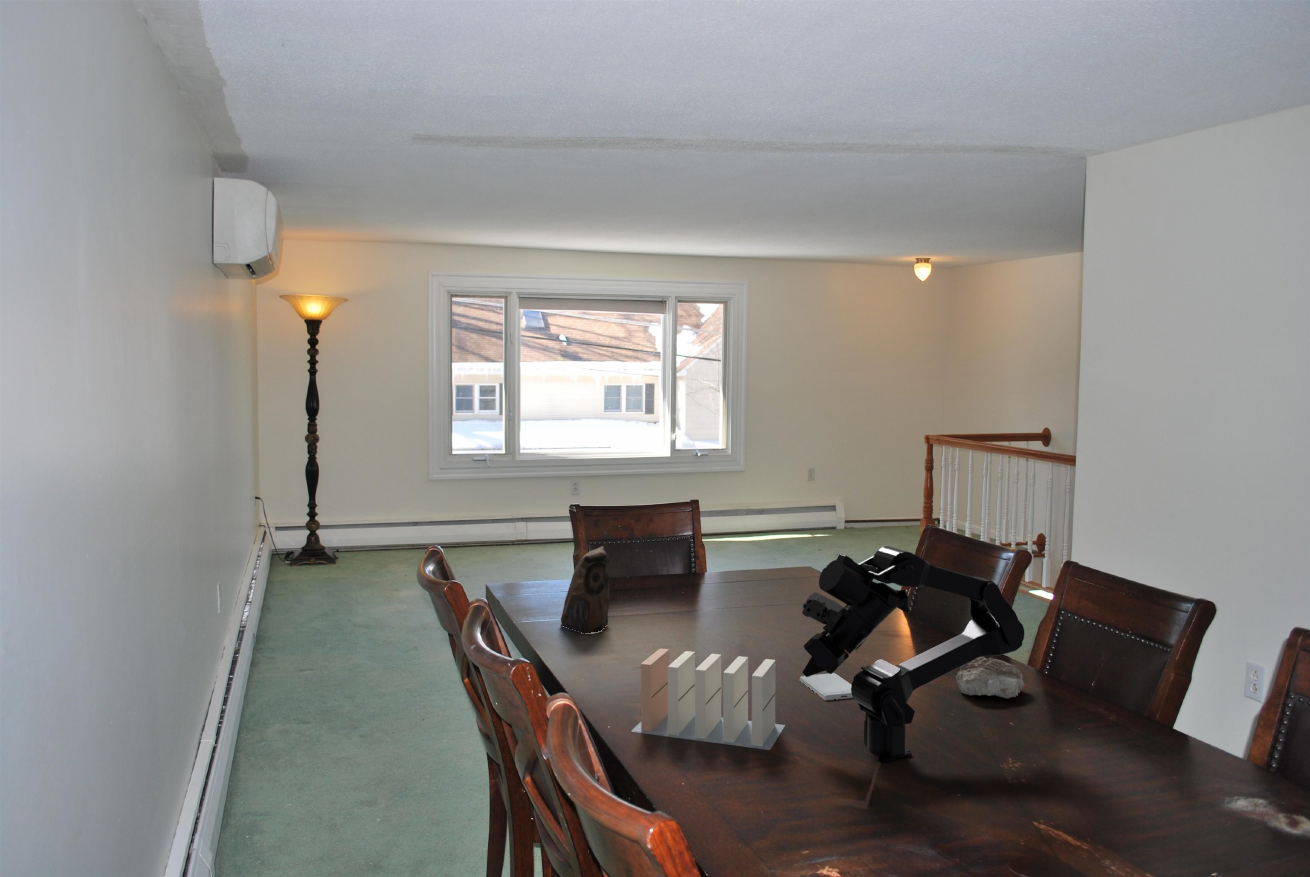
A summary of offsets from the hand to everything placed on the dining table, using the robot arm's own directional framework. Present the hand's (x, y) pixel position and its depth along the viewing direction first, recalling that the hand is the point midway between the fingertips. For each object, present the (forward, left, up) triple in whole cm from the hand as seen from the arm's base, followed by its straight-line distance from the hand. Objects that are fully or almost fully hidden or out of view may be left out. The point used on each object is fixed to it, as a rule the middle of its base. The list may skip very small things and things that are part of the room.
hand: (804, 674), depth 164 cm
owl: (+87, -1, -12) cm, 88 cm away
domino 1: (+20, +18, -11) cm, 29 cm away
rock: (+1, -48, -12) cm, 49 cm away
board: (+12, +12, -12) cm, 21 cm away
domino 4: (+8, +9, -11) cm, 16 cm away
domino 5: (+4, +5, -11) cm, 13 cm away
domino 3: (+12, +12, -11) cm, 20 cm away
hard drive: (+20, -23, -13) cm, 32 cm away
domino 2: (+16, +15, -11) cm, 25 cm away
